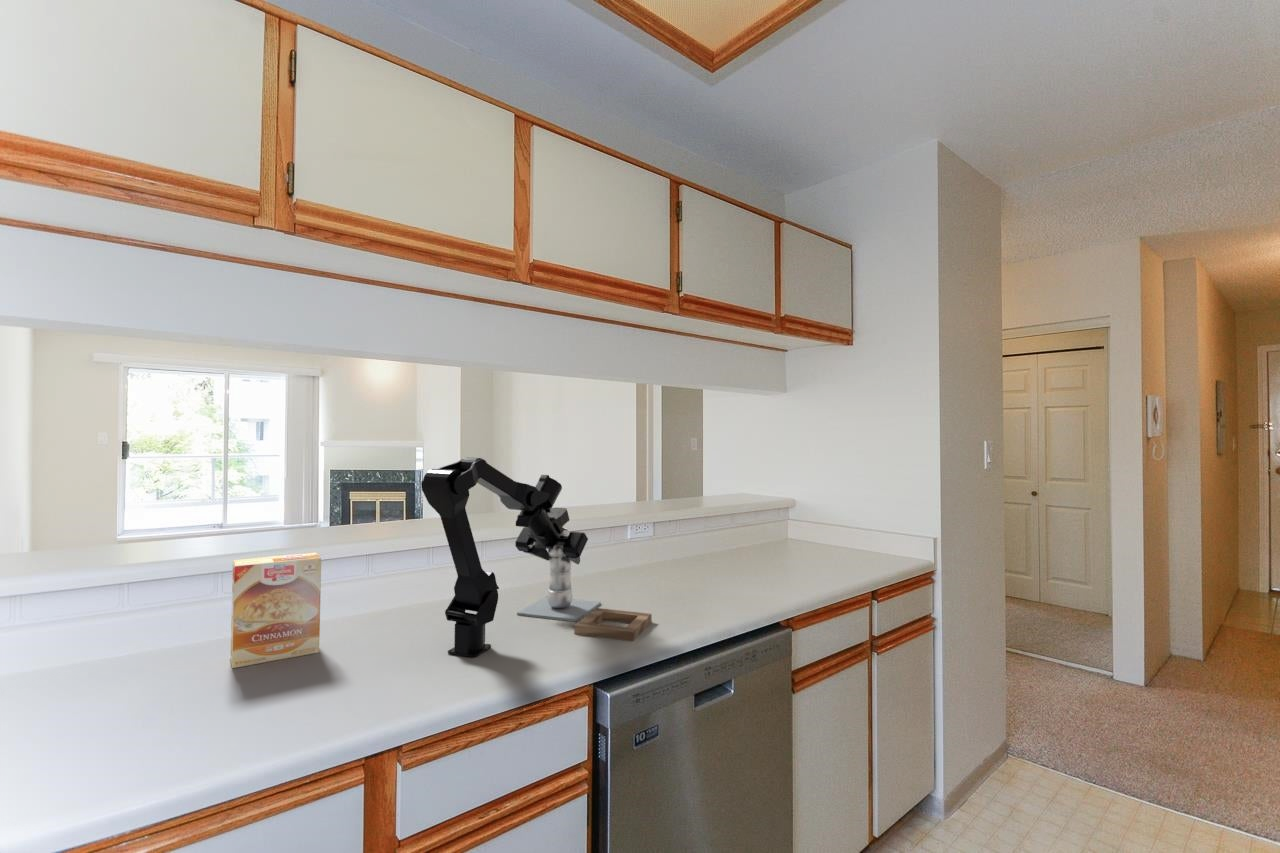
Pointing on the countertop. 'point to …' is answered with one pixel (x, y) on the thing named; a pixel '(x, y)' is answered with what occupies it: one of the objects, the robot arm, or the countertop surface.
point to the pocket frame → (630, 632)
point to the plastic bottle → (559, 577)
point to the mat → (559, 610)
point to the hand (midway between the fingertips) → (563, 560)
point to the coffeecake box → (275, 608)
